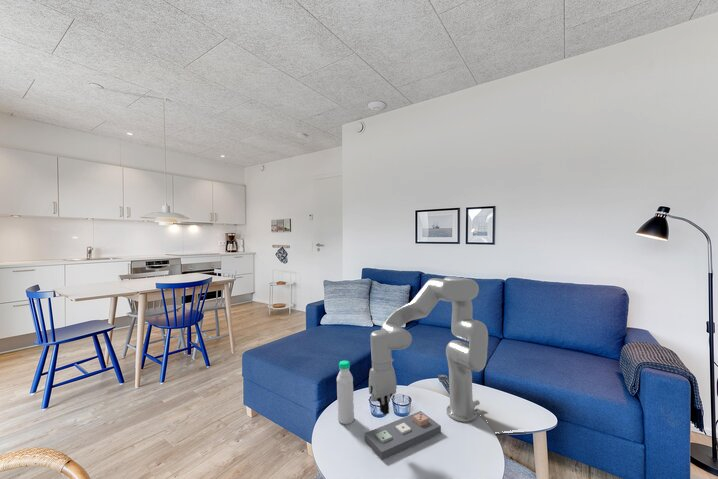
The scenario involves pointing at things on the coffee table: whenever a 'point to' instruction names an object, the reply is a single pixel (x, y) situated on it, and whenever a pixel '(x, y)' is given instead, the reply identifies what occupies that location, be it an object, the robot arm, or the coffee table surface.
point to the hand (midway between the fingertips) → (384, 412)
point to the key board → (401, 436)
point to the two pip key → (383, 436)
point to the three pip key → (420, 419)
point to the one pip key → (403, 428)
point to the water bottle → (345, 394)
